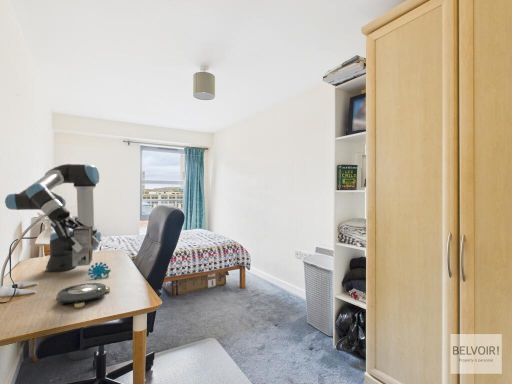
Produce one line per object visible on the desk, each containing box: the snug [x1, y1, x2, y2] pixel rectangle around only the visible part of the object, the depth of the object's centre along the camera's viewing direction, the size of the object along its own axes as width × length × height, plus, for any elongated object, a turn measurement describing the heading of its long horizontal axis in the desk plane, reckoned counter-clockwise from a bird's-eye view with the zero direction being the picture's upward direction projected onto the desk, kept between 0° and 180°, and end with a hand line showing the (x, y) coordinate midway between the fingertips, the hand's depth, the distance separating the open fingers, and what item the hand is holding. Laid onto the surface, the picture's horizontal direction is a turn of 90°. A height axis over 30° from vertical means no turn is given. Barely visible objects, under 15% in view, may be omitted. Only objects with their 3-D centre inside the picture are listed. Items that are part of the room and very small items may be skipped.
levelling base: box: [55, 282, 111, 310], centre depth 119 cm, size 21×21×5 cm
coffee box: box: [72, 226, 94, 267], centre depth 119 cm, size 9×6×16 cm
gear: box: [87, 261, 112, 280], centre depth 151 cm, size 11×6×10 cm
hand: (89, 247), depth 119 cm, fingers closed on coffee box, 10 cm apart
